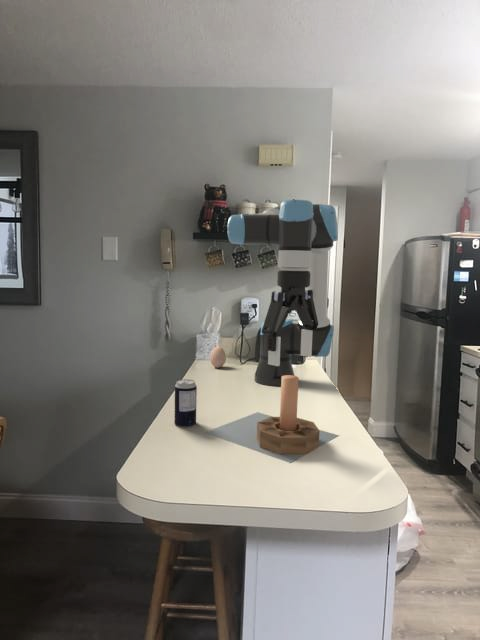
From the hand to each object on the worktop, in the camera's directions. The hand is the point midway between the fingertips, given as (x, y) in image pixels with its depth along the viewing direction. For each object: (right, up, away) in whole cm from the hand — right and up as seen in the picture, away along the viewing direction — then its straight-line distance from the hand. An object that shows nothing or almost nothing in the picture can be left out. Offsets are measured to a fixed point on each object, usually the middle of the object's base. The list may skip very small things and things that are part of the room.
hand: (290, 360), depth 105 cm
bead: (-1, -20, +2) cm, 20 cm away
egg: (-21, -11, +83) cm, 86 cm away
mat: (-4, -20, +7) cm, 22 cm away
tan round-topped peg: (-1, -20, +2) cm, 20 cm away
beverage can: (-26, -19, +13) cm, 35 cm away
